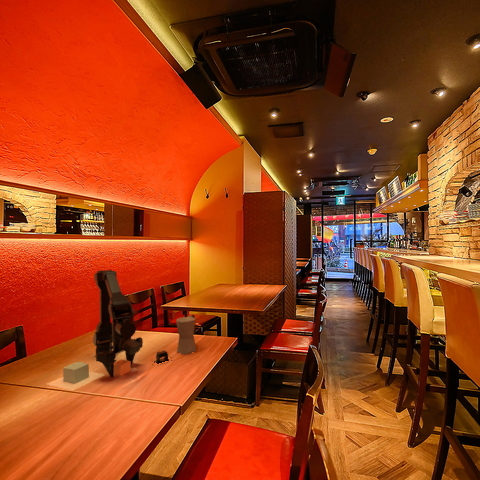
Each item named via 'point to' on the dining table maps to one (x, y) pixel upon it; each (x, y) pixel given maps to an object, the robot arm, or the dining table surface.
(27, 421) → the dining table surface
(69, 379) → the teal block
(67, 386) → the base plate
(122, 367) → the orange block
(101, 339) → the robot arm
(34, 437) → the dining table surface
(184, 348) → the coffeepot
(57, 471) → the dining table surface
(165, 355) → the dark piece
